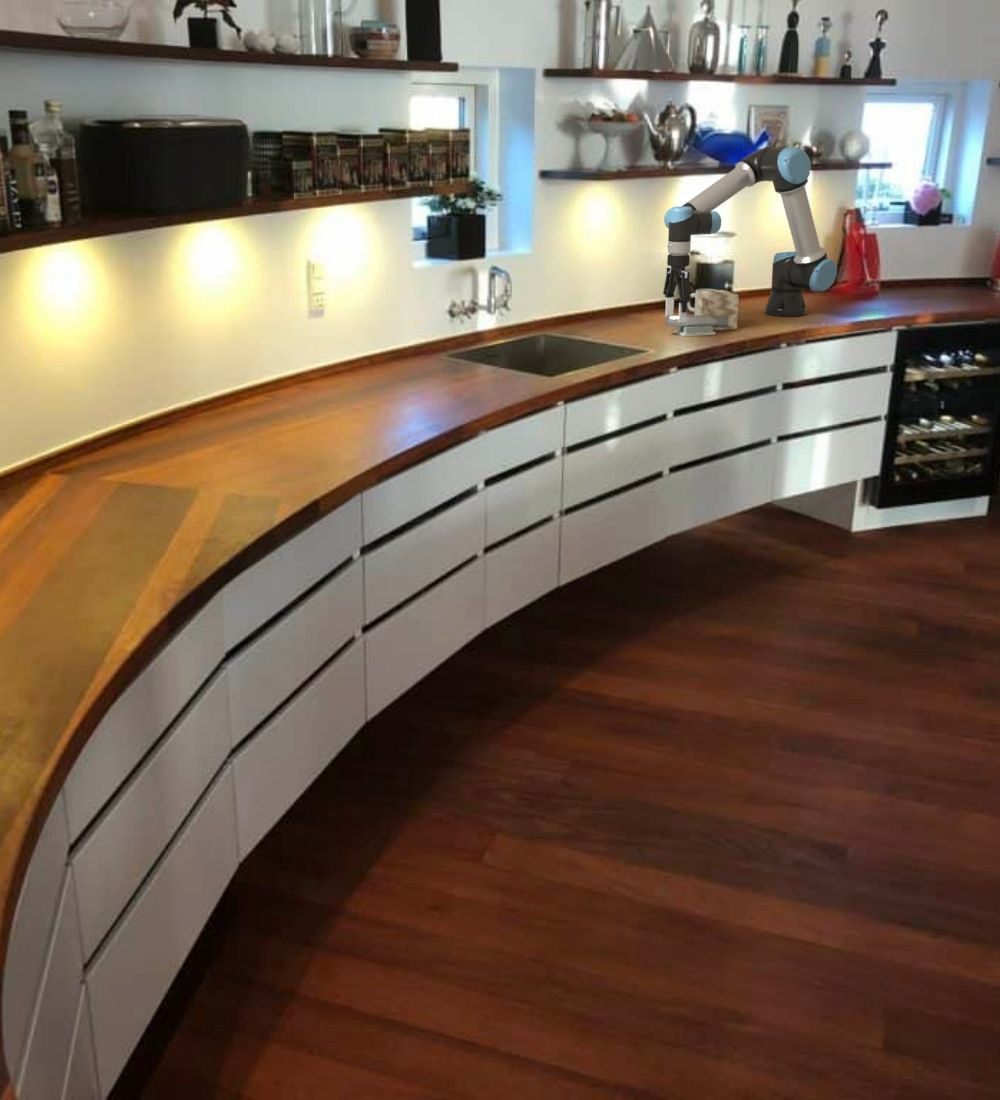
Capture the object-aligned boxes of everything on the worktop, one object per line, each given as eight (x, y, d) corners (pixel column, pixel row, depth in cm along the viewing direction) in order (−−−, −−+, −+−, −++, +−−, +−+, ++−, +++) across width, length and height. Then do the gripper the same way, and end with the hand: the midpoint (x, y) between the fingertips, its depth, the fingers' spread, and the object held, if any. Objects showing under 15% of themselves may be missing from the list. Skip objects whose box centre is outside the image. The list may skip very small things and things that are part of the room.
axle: (723, 326, 427) (724, 315, 426) (728, 328, 424) (729, 316, 423) (665, 325, 421) (666, 314, 420) (670, 326, 418) (671, 315, 417)
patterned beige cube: (721, 323, 442) (723, 289, 438) (736, 328, 432) (738, 294, 427) (696, 324, 440) (698, 291, 436) (710, 330, 429) (712, 296, 425)
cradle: (705, 330, 428) (706, 322, 427) (715, 334, 421) (716, 326, 420) (674, 332, 425) (674, 324, 424) (683, 336, 418) (684, 328, 417)
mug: (721, 319, 449) (723, 289, 446) (710, 323, 443) (712, 292, 439) (692, 316, 456) (693, 287, 452) (681, 319, 450) (683, 289, 446)
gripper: (655, 250, 421) (652, 314, 429) (682, 258, 400) (679, 325, 408) (675, 249, 423) (672, 313, 431) (703, 257, 402) (699, 324, 410)
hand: (675, 319), depth 420 cm, fingers open, 10 cm apart
